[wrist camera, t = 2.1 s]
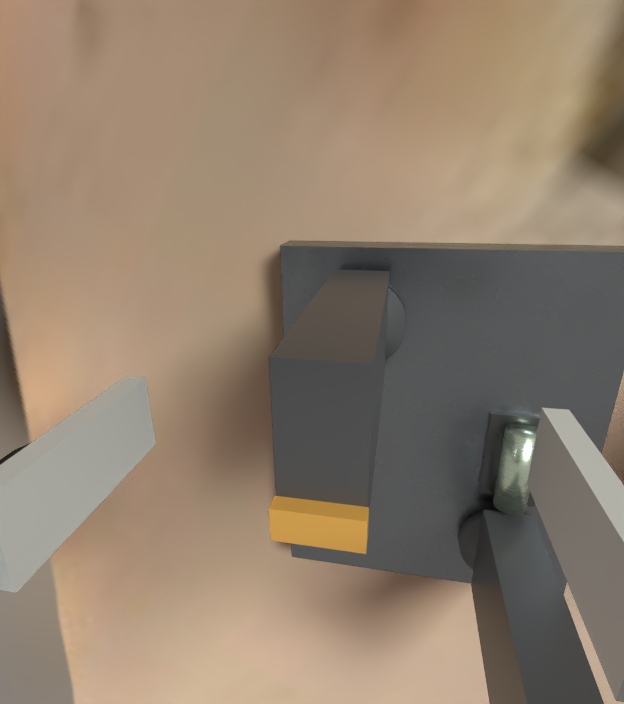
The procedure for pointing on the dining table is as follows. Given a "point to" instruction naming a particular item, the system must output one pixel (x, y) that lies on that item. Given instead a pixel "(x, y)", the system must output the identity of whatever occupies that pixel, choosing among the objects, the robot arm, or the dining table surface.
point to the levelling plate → (472, 381)
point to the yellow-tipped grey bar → (331, 410)
